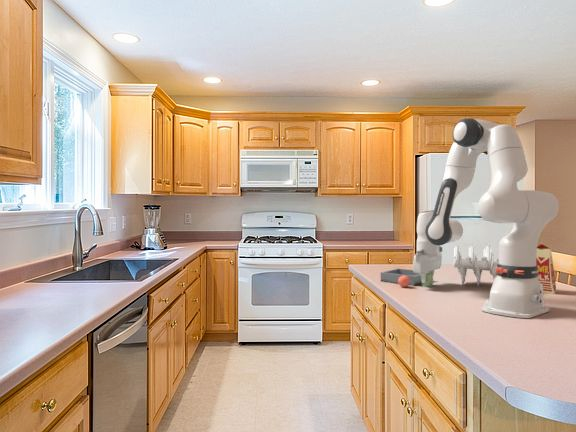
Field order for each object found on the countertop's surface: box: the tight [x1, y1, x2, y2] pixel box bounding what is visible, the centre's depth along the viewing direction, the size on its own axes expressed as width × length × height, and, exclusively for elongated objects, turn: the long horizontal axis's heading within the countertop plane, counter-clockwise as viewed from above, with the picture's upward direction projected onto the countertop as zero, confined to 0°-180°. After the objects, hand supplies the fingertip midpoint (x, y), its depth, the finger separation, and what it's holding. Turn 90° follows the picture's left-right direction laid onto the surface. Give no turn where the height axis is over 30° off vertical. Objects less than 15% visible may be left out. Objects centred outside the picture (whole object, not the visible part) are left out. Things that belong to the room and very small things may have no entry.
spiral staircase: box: [453, 243, 499, 287], centre depth 176 cm, size 18×18×25 cm
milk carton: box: [536, 240, 557, 295], centre depth 165 cm, size 9×9×20 cm
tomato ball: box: [398, 276, 410, 288], centre depth 173 cm, size 5×5×5 cm
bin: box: [380, 267, 429, 287], centre depth 187 cm, size 16×16×4 cm
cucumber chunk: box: [421, 273, 434, 288], centre depth 176 cm, size 4×4×5 cm
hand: (427, 281), depth 176 cm, fingers closed on cucumber chunk, 4 cm apart
